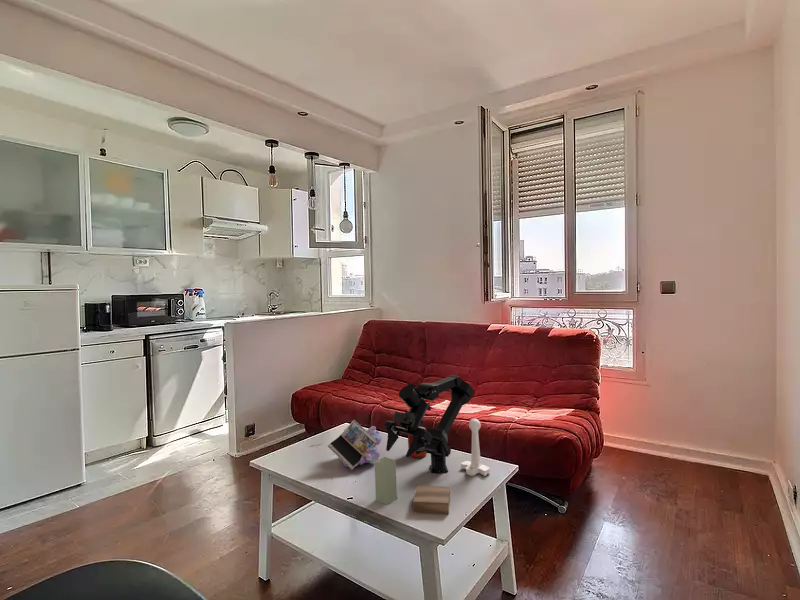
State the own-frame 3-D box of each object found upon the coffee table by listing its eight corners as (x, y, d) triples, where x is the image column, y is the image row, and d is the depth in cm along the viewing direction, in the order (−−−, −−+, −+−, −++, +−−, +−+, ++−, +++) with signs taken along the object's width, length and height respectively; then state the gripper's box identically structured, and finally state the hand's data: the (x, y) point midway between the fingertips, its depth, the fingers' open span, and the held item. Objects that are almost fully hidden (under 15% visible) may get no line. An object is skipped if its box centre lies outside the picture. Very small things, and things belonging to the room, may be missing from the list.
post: (386, 494, 147) (384, 456, 146) (396, 498, 143) (395, 460, 143) (375, 500, 143) (374, 461, 143) (386, 504, 140) (385, 465, 139)
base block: (417, 495, 145) (417, 485, 145) (450, 497, 143) (449, 486, 143) (413, 512, 134) (412, 501, 134) (448, 514, 132) (448, 503, 132)
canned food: (418, 459, 175) (417, 432, 175) (404, 455, 181) (403, 429, 181) (430, 454, 181) (429, 428, 181) (416, 450, 186) (415, 425, 186)
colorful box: (380, 437, 191) (358, 406, 188) (397, 451, 170) (373, 416, 167) (343, 468, 184) (320, 436, 181) (356, 487, 164) (330, 451, 161)
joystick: (492, 472, 161) (490, 420, 160) (481, 479, 155) (479, 425, 155) (467, 465, 168) (465, 415, 168) (456, 471, 163) (454, 419, 162)
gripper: (385, 398, 157) (365, 436, 149) (426, 406, 145) (406, 448, 137) (400, 414, 163) (381, 452, 155) (440, 423, 151) (422, 464, 143)
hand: (396, 453), depth 147 cm, fingers open, 9 cm apart
